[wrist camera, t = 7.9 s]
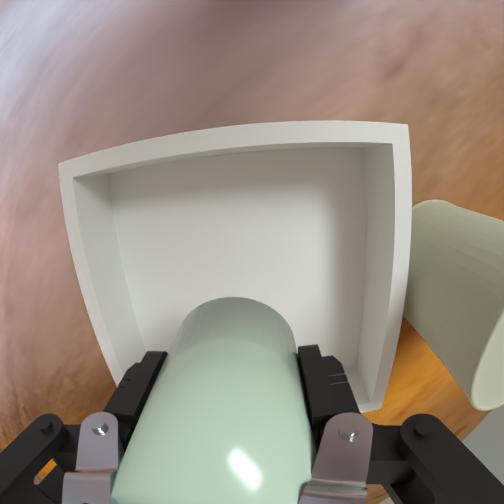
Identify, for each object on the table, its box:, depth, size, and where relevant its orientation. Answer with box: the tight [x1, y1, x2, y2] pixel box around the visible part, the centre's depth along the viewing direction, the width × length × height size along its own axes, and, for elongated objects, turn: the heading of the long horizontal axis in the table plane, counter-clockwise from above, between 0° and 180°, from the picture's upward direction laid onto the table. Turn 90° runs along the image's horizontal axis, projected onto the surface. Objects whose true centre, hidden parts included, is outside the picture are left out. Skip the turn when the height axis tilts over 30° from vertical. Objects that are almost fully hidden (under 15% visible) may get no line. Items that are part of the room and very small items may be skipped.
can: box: [403, 200, 504, 411], centre depth 13 cm, size 9×9×12 cm
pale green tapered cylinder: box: [111, 297, 317, 504], centre depth 8 cm, size 5×5×8 cm
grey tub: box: [58, 121, 412, 413], centre depth 16 cm, size 18×18×5 cm
